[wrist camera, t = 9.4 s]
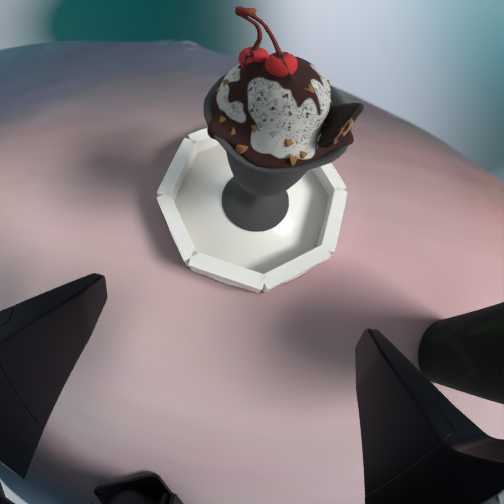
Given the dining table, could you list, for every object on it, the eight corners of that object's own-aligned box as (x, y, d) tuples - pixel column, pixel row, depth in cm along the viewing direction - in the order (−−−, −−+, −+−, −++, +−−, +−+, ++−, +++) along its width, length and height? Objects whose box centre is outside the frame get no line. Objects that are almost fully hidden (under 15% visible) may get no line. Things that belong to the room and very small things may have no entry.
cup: (412, 406, 19) (521, 436, 8) (402, 320, 21) (522, 304, 9) (470, 375, 20) (569, 379, 9) (462, 299, 22) (564, 274, 10)
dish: (211, 320, 20) (210, 319, 18) (143, 167, 22) (138, 154, 20) (363, 241, 22) (375, 233, 20) (284, 115, 24) (288, 101, 23)
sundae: (196, 178, 21) (175, -8, 7) (276, 152, 23) (331, -16, 8) (229, 258, 20) (247, 100, 6) (314, 224, 21) (435, 79, 7)
